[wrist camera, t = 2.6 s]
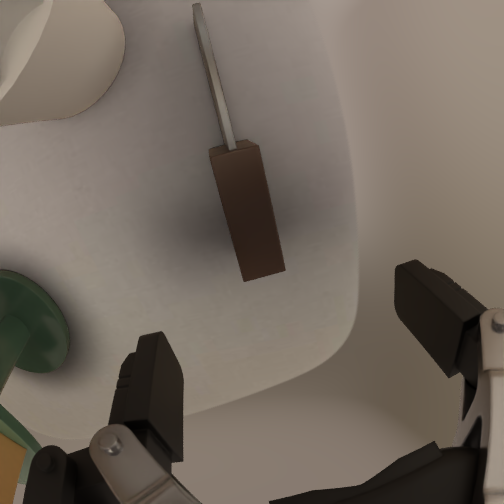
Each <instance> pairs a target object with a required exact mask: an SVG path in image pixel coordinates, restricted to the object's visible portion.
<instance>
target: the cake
mask: <svg viewBox="0 0 504 504" xmlns="http://www.w3.org/2000/svg"><path fill="white" fill-rule="evenodd" d="M26 451H27V449H25V448H24V447H22V446H20V445H19V444H17V443H16V442H14V441H12V440H11V439H9V438H8V437H6V436H5V435H3V434H2V433H0V504H13V499H14V495H15V491H16V487H17V483H18V479H19V475H20V471H21V468H22V464H23V461H24V457H25V454H26Z"/></svg>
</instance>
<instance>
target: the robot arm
mask: <svg viewBox="0 0 504 504" xmlns="http://www.w3.org/2000/svg"><path fill="white" fill-rule="evenodd" d="M394 293H395V294H394V305H395V310H396V313H397V315H398V317H399V318H400V320H401V321H402V322H403V323H404V325H405V326H406V327H407V328H408V329H409V330H410V332H411V333H412V334H413V335H414V336H415V338H416V339H417V340H418V341H419V342H420V343H421V345H422V346H423V347H424V348H425V350H426V351H427V352H428V353H429V354H430V356H431V357H432V358H433V359H434V361H435V362H436V363H437V364H438V365H439V367H440V368H441V369H442V371H443V372H444V373H445V374H446V376H447V377H448V378H450V377H452V376H454V375H456V374H457V373H459V372H461V374H462V375H463V379H462V383H461V396H460V409H459V419H458V427H457V432H456V435H455V438H454V441H453V444H452V447H447V448H441V449H439V448H438V446H437V444H436V443H435V441H433V442H431V443H429V444H427V445H426V446H424V447H422V448H420V449H418V450H416V451H414V452H412V453H410V454H408V455H405V456H403V457H401V458H399V459H397V460H396V461H395V462H393V463H392V464H391V465H389V466H388V467H387V468H385V469H384V470H382V471H381V472H380V473H378V474H377V475H376V476H374V477H373V478H371V479H369V480H368V481H366V482H365V483H363V484H361V485H357V486H351V487H344V488H335V489H323V490H312V491H309V492H305V493H301V494H297V495H294V496H290V497H285V498H281V499H277V500H273V501H269V504H504V309H503V308H491V309H487V308H486V307H484V306H483V305H482V304H481V303H480V302H479V301H478V300H476V299H475V298H474V297H473V296H472V295H470V294H469V293H468V292H467V291H466V290H464V289H461V286H459V285H458V284H457V283H456V282H455V283H454V281H453V280H452V279H451V278H449V277H448V276H447V275H445V274H444V273H442V272H439V271H437V270H434V269H429V268H427V267H426V266H425V265H424V264H422V263H421V262H419V261H418V260H412V261H409V262H406V263H403V264H400V265H397V266H396V268H395V292H394ZM116 387H117V389H116V390H115V395H114V399H113V404H112V408H111V413H110V418H109V423H108V426H105V427H103V428H102V429H100V430H99V431H98V432H97V433H96V434H95V435H94V436H93V438H92V439H91V442H90V445H89V447H87V448H85V449H82V450H79V451H76V452H73V453H70V454H66V453H65V452H64V451H63V450H62V449H61V448H60V447H57V446H54V445H50V446H46V447H43V448H42V449H40V450H39V451H38V452H37V453H36V454H35V455H34V457H33V459H32V461H31V465H30V469H29V474H28V478H27V483H26V488H25V493H24V499H23V504H202V503H201V502H200V501H199V500H198V499H197V498H195V497H194V496H193V495H192V494H191V493H190V492H189V491H188V490H187V489H186V488H185V487H184V486H183V485H182V484H181V483H180V482H179V481H178V480H177V479H176V477H175V476H173V474H172V473H171V463H174V462H183V390H184V379H183V373H182V369H181V366H180V364H179V362H178V360H177V358H176V356H175V354H174V352H173V350H172V348H171V346H170V344H169V342H168V340H167V338H166V336H165V334H164V333H163V332H162V331H160V332H156V333H151V334H147V335H142V336H140V337H139V340H138V344H137V349H136V352H134V353H130V354H129V355H128V356H127V358H126V359H125V361H124V362H123V364H122V365H121V369H120V373H119V379H118V382H117V386H116Z"/></svg>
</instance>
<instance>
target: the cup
mask: <svg viewBox="0 0 504 504" xmlns="http://www.w3.org/2000/svg"><path fill="white" fill-rule="evenodd" d="M124 51H125V35H124V30H123V26H122V24H121V22H120V20H119V18H118V16H117V15H116V14H115V13H114V12H113V11H112V10H111V9H110V8H109V6H108V5H107V4H106V3H105V2H104V1H103V0H0V126H6V125H13V124H20V123H28V122H37V121H46V120H57V119H64V118H68V117H72V116H74V115H76V114H78V113H81V112H83V111H84V110H86V109H87V108H89V107H90V106H92V105H93V104H94V103H95V102H96V101H97V100H99V99H100V98H101V97H102V96H103V95H104V93H105V92H106V91H107V90H108V88H109V87H110V86H111V85H112V83H113V81H114V79H115V77H116V76H117V74H118V72H119V69H120V66H121V64H122V61H123V56H124Z"/></svg>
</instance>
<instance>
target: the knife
mask: <svg viewBox="0 0 504 504" xmlns="http://www.w3.org/2000/svg"><path fill="white" fill-rule="evenodd" d="M192 9H193V20H194V26H195V30H196V34H197V38H198V42H199V46H200V50H201V54H202V58H203V61H204V65H205V69H206V73H207V77H208V81H209V85H210V89H211V93H212V97H213V101H214V105H215V109H216V113H217V116H218V120H219V124H220V128H221V132H222V136H223V140H224V144H225V145H222V146H218V147H215V148H211V149H209V157H210V161H211V165H212V169H213V172H214V176H215V180H216V184H217V187H218V191H219V195H220V198H221V202H222V206H223V209H224V213H225V217H226V220H227V224H228V227H229V231H230V235H231V238H232V242H233V245H234V249H235V253H236V256H237V260H238V263H239V267H240V270H241V274H242V278H243V281H244V282H247V281H250V280H254V279H257V278H261V277H265V276H268V275H272V274H275V273H279V272H283V271H285V270H286V269H285V264H284V259H283V255H282V250H281V245H280V240H279V235H278V231H277V226H276V221H275V217H274V212H273V207H272V203H271V198H270V194H269V189H268V184H267V180H266V176H265V171H264V167H263V162H262V158H261V154H260V149H259V146H258V145H257V144H255V143H253V142H251V141H249V140H247V139H246V140H242V141H238V142H235V138H234V134H233V130H232V126H231V122H230V118H229V114H228V110H227V106H226V102H225V98H224V94H223V90H222V86H221V82H220V78H219V74H218V70H217V67H216V63H215V59H214V55H213V51H212V47H211V43H210V39H209V35H208V31H207V28H206V24H205V20H204V16H203V12H202V8H201V4H200V3H196V4H193V5H192Z"/></svg>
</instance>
